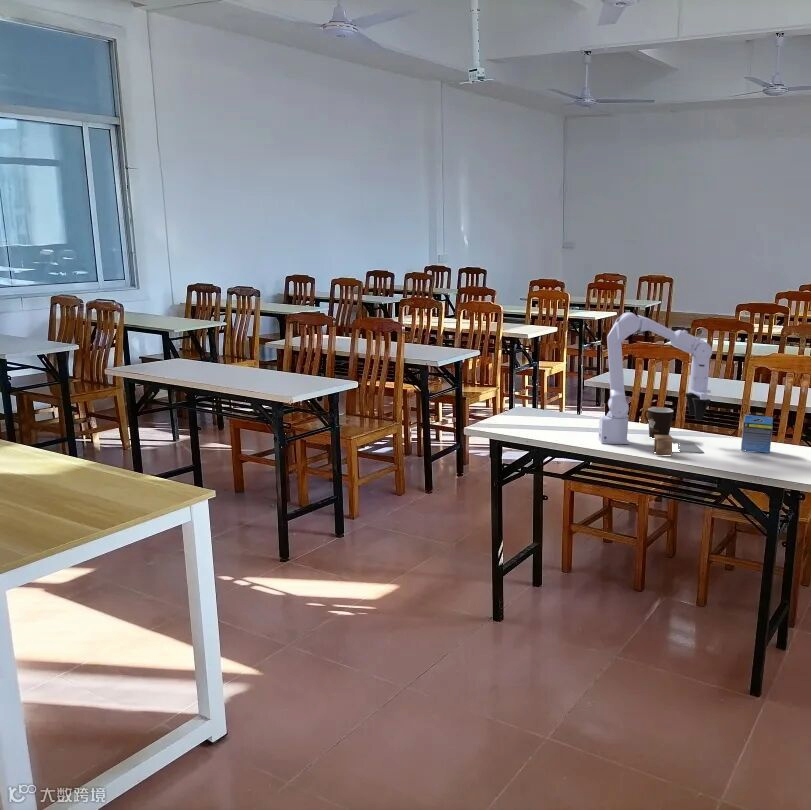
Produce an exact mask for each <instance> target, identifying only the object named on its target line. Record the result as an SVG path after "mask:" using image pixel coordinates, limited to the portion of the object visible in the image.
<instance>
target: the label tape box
mask: <svg viewBox="0 0 811 810" xmlns="http://www.w3.org/2000/svg"><path fill="white" fill-rule="evenodd" d="M758 419H759V420H760V421H759V420H758ZM756 420H758V421H756ZM773 420H774V417H772V416H764V415H762V416H761V415H751V414H750V415H749V414H744V419H743V425H742V432H741V433H742V436H741V447H740V451H741V450H746V451H745V452H747V451H758V452H757V453H760V452H766V453H765V454H770V453H771V444H772V437H773V436H772V435H773V427H774V426H773Z"/></svg>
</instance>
